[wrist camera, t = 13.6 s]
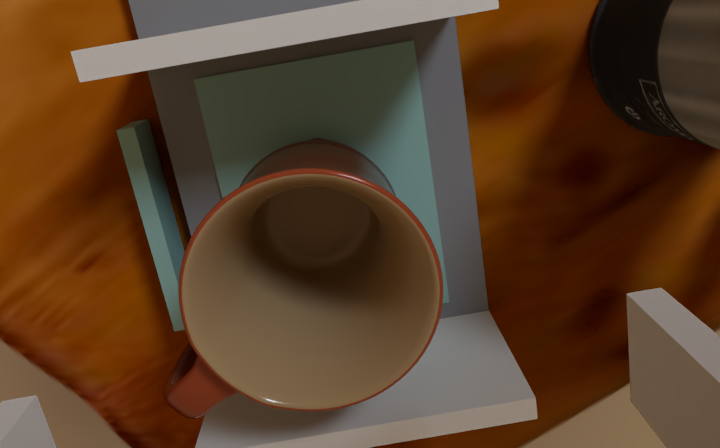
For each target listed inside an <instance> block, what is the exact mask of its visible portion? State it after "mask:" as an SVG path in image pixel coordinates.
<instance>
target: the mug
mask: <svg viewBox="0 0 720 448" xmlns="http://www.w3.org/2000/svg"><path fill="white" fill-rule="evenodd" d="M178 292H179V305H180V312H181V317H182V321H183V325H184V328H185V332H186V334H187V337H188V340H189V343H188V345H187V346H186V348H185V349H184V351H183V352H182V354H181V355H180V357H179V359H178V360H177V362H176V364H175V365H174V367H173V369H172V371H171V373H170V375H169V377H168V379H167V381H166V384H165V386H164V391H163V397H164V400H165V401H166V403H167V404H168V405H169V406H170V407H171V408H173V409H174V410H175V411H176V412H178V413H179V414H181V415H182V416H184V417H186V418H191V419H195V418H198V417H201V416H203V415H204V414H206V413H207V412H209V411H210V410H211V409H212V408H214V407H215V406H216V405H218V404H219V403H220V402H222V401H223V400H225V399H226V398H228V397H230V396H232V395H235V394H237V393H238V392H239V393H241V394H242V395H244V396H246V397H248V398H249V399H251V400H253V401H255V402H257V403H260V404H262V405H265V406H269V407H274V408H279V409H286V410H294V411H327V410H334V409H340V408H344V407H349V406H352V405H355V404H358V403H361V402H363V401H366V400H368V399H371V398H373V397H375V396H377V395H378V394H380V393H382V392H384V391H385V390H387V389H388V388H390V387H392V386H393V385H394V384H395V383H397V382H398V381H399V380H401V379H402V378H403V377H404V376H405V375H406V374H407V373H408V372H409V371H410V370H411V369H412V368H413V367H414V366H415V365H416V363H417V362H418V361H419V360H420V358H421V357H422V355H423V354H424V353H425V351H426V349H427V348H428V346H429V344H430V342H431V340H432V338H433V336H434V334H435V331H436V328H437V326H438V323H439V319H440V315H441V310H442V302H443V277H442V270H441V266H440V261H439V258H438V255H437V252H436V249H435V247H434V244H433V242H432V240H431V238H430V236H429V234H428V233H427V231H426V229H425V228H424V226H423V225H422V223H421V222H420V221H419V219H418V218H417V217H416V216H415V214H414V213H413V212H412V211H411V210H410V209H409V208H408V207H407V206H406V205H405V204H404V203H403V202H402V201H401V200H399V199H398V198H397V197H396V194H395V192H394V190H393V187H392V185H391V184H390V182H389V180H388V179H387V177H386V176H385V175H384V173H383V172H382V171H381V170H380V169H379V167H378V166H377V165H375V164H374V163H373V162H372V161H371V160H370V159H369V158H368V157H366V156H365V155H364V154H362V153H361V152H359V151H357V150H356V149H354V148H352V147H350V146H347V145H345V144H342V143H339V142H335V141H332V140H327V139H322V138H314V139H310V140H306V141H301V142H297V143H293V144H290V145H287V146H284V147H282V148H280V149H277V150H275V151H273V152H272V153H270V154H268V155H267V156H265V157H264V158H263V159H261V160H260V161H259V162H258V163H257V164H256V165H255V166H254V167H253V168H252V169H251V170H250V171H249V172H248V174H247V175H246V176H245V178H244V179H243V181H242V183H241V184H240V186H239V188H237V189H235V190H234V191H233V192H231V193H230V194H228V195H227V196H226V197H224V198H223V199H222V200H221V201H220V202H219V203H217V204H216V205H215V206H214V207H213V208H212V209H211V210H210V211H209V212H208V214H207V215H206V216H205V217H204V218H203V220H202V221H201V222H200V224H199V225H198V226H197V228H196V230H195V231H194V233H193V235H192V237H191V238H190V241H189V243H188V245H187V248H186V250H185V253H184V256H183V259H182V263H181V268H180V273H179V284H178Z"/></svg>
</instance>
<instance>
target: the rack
mask: <svg viewBox="0 0 720 448" xmlns="http://www.w3.org/2000/svg"><path fill="white" fill-rule="evenodd" d="M128 1H129V5H130V9H131V12H132V16H133V20H134V24H135V27H136V31H137V35H138V40H133V41H127V42H121V43H116V44H110V45H105V46H99V47H93V48H88V49H82V50H76V51H71V55H72V58H73V61H74V65H75V68H76V71H77V75H78V78H79V81H80V82H85V81H91V80H96V79H102V78H108V77H113V76H119V75H125V74H130V73H136V72H142V71H147V72H148V76H149V80H150V84H151V88H152V91H153V95H154V99H155V103H156V106H157V110H158V114H159V118H160V121H161V125H162V129H163V133H164V136H165V140H166V144H167V148H168V151H169V155H170V159H171V163H172V166H173V170H174V174H175V178H176V181H177V185H178V189H179V193H180V196H181V200H182V204H183V208H184V212H185V215H186V219H187V223H188V227H189V230H190V234H191V237H192V235H193V233H194V231H195V230H196V228H197V226H198V225H199V224H200V222H201V221H202V220H203V218H204V217H205V216H206V215H207V214H208V212H209V211H210V210H211V209H212V208H213V207H214V206H215V205H216V204H217V203H219V202H220V201H221V200H222V199H223V198H224V197H226V196H227V195H228V194H230V193H231V192H233V191H234V190H235V189H237V188H239V186H240V184H241V183H242V181H243V179H244V178H245V176H246V175H247V174H248V172H249V171H250V170H251V169H252V168H253V167H254V166H255V165H256V164H257V163H258V162H259V161H260V160H261V159H263V158H264V157H265V156H267V155H268V154H270V153H272V152H273V151H275V150H277V149H280V148H282V147H284V146H287V145H290V144H293V143H297V142H301V141H306V140H310V139H314V138H322V139H327V140H332V141H335V142H339V143H342V144H345V145H347V146H350V147H352V148H354V149H356V150H357V151H359V152H361V153H362V154H364V155H365V156H366V157H368V158H369V159H370V160H371V161H372V162H373V163H374V164H375V165H377V166H378V167H379V169H380V170H381V171H382V172H383V173H384V175H385V176H386V177H387V179H388V180H389V182H390V184H391V185H392V187H393V190H394V192H395V194H396V197H397V198H398V199H399V200H401V201H402V202H403V203H404V204H405V205H406V206H407V207H408V208H409V209H410V210H411V211H412V212H413V213H414V214H415V216H416V217H417V218H418V219H419V221H420V222H421V223H422V225H423V226H424V228H425V229H426V231H427V233H428V234H429V236H430V238H431V240H432V242H433V244H434V247H435V249H436V252H437V255H438V258H439V261H440V266H441V270H442V277H443V302H442V310H441V315H440V319H439V323H438V326H437V328H436V331H435V334H434V336H433V338H432V340H431V342H430V344H429V346H428V348H427V349H426V351H425V353H424V354H423V355H422V357H421V358H420V360H419V361H418V362H417V363H416V365H415V366H414V367H413V368H412V369H411V370H410V371H409V372H408V373H407V374H406V375H405V376H404V377H403V378H402V379H401V380H399V381H398V382H397V383H395V384H394V385H393V386H392V387H390V388H388V389H387V390H385V391H384V392H382V393H380V394H378V395H377V396H375V397H373V398H371V399H368V400H366V401H363V402H361V403H358V404H355V405H352V406H349V407H344V408H340V409H334V410H327V411H294V410H286V409H279V408H274V407H269V406H265V405H262V404H260V403H257V402H255V401H253V400H251V399H249V398H248V397H246V396H244V395H242V394H241V393H239V392H238V393H237V394H235V395H232V396H230V397H228V398H226V399H225V400H223V401H222V402H220V403H219V404H218V405H216V406H215V407H214V408H212V409H211V410H210V411H209V412H207V413H206V414H205V416H204V420H203V423H202V426H201V429H200V433H199V436H198V439H197V442H196V446H195V448H370V447H376V446H382V445H387V444H393V443H399V442H405V441H411V440H417V439H423V438H428V437H434V436H440V435H446V434H452V433H458V432H464V431H469V430H475V429H481V428H487V427H493V426H499V425H505V424H510V423H516V422H522V421H528V420H534V419H538V416H537V406H536V397H535V395H534V394H533V392H532V390H531V388H530V386H529V384H528V382H527V381H526V379H525V377H524V375H523V373H522V371H521V369H520V368H519V366H518V364H517V362H516V360H515V358H514V356H513V354H512V353H511V351H510V349H509V347H508V345H507V343H506V341H505V340H504V338H503V336H502V334H501V332H500V330H499V328H498V327H497V325H496V323H495V321H494V319H493V317H492V315H491V313H490V312H489V307H488V298H487V290H486V281H485V272H484V264H483V255H482V246H481V238H480V229H479V220H478V212H477V203H476V194H475V186H474V177H473V168H472V160H471V151H470V142H469V134H468V125H467V116H466V107H465V99H464V90H463V81H462V73H461V64H460V55H459V47H458V38H457V29H456V21H455V16H459V15H464V14H470V13H476V12H481V11H487V10H493V9H498V8H499V3H498V0H128ZM116 132H117V135H118V138H119V142H120V145H121V149H122V152H123V156H124V159H125V163H126V166H127V170H128V173H129V177H130V180H131V183H132V187H133V190H134V194H135V197H136V201H137V204H138V208H139V211H140V215H141V218H142V221H143V225H144V228H145V232H146V235H147V239H148V242H149V246H150V249H151V253H152V256H153V259H154V263H155V266H156V270H157V273H158V277H159V280H160V284H161V287H162V291H163V294H164V298H165V301H166V304H167V308H168V311H169V315H170V318H171V322H172V325H173V329H174V332H175V331H181V330H185V328H184V325H183V321H182V317H181V312H180V305H179V292H178V284H179V273H180V268H181V263H182V259H183V256H184V253H185V251H184V247H183V244H182V240H181V236H180V233H179V229H178V225H177V222H176V218H175V214H174V211H173V207H172V203H171V199H170V196H169V192H168V188H167V185H166V181H165V177H164V174H163V170H162V166H161V163H160V159H159V155H158V152H157V148H156V144H155V141H154V137H153V133H152V130H151V126H150V122H149V119H145V120H139V121H133V122H131V123H129V124H127V125H125V126H123V127H122V128H120V129H118V130H116Z"/></svg>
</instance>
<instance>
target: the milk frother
mask: <svg viewBox="0 0 720 448" xmlns="http://www.w3.org/2000/svg"><path fill="white" fill-rule="evenodd" d="M589 55H590V64H591V71H592V75H593V78H594V80H595V84H596V86H597V89H598V91H599V93H600V95H601V96H602V97H603V99H604V101H605V102H606V104H607V105H608V106H609V107H610V108H611V110H612V111H613V112H614V113H615V114H616V115H617V116H618V117H620V118H621V119H622V120H623V121H625V122H626V123H627V124H629V125H631V126H633V127H635V128H637V129H639V130H642V131H644V132H647V133H650V134H654V135H659V136H678V137H681V138H685V139H688V140H692V141H694V142H697V143H701V144H704V145H707V146H710V147H713V148H717V149H720V0H601V2H600V4H599V6H598V9H597V13H596V15H595V17H594V21H593V26H592V29H591V35H590V47H589Z"/></svg>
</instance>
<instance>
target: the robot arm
mask: <svg viewBox="0 0 720 448" xmlns="http://www.w3.org/2000/svg"><path fill="white" fill-rule="evenodd" d="M626 297H627V321H628V345H629V369H630V391H631V392H630V393H631V402H632V403H633V404H634V406H635V407H636V408H637V409H638V411H639V412H640V413H641V415H642V416H643V417H644V419H645V420H646V421H647V423H648V424H649V425H650V426H651V428H652V429H653V430H654V432H655V433H656V434H657V436H658V437H659V438H660V439H661V441H662V442H663V443H664V445H665V446H666V447H667V448H720V336H719V335H717V334H716V333H715V332H714V331H713V330H711V329H710V328H709V327H708V326H707V325H705V324H704V323H703V322H702V321H701V320H699V319H698V318H697V317H696V316H695V315H693V314H692V313H691V312H690V311H689V310H687V309H686V308H685V307H684V306H683V305H682V304H680V303H679V302H678V301H677V300H676V299H674V298H673V297H672V296H671V295H670V294H668V293H667V292H666V291H665V290H664V289H662V288H655V289H650V290H644V291H638V292H632V293H626ZM0 448H56V445H55V443H54V440H53V437H52V435H51V432H50V429H49V427H48V424H47V421H46V419H45V416H44V414H43V411H42V409H41V406H40V403H39V401H38V398H37V396H36V395H35V396H29V397H23V398H18V399H12V400H6V401H2V402H1V403H0Z"/></svg>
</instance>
